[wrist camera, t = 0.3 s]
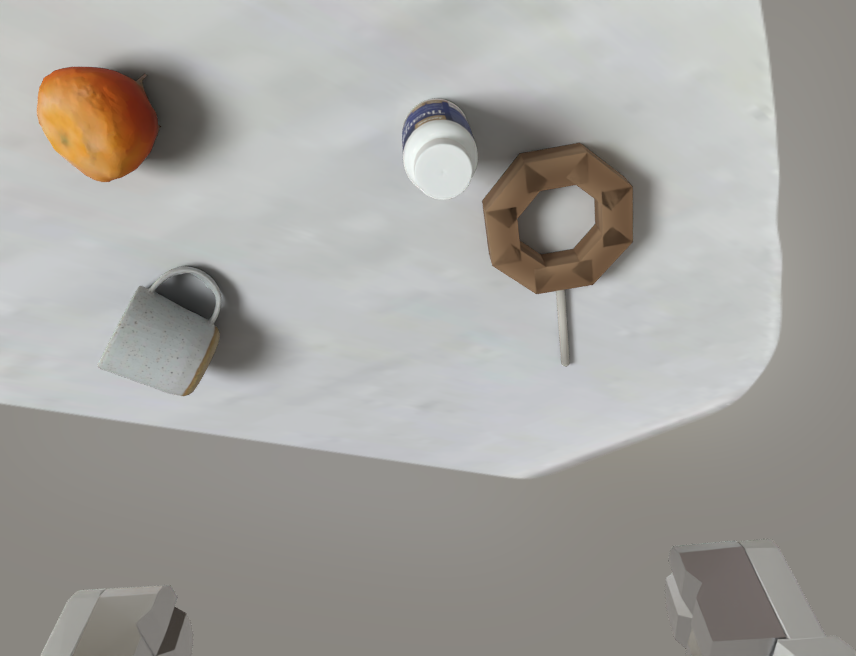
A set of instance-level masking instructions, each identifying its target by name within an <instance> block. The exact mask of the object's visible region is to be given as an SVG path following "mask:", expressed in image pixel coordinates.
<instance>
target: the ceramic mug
mask: <svg viewBox="0 0 856 656" xmlns="http://www.w3.org/2000/svg"><path fill="white" fill-rule="evenodd" d="M183 273H190V274H192V275H194V276H195V277H197V278H199V279H200V280H202V281H203V282H204V283H205V285H206V287H207V288H210V289H211V290H212V292H213V293H214V294H215V298H216V304H215V309H214V312H213V314H212V316H211V318H210V319H208V320H207V319H206V318H204V317H202V316H200V315H198V314H196V313H193V312H191V311H189V310H187V309H185V308H183V307H181V306H179V305H178V304H176V303H174V302H172V301H170V300H169V299H167V298H165V297H164V296H161V295H159V294H157V293H156V292H155V290H156V288H157V287H158V286H159V285H160V284H161V283H163V282H164V281H165V280H167V279H168V278H170V277H172V276H175V275H178V274H183ZM220 307H221V293H220V290H219V287H218V285H217V284H216V282H215V281H214V280H213V278H212V277H211V276H209V275H208V274H207V273H205V272H204V271H202V270H200V269H197V268H194V267H188V266H181V267H177V268H174V269H171V270H169V271H167V272H166V273H164V274H163V275H162V276H161V277H159V278H158V279H157V280H156V281H155V282H154V283H153V285H152V286H151V287H150V288H149V289H148V288H145V287H143V286H139V287H138V289H137V290H136V292H135V294H134V295H133V297H132V299H131V301H130V303H129V305H128V307H127V309H126V310H125V312H124V314H123V316H122V318H121V320H120V322H119V324H118V326H117V328H116V330H115V331H114V333H113V335H112V337H111V339H110V341H109V343H108V345H107V347H106V349H105V351H104V353H103V355H102V357H101V359H100V361H99V362H98V367H99V368H100V369H102V370H105V371H108V372H111V373H114V374H117V375H119V376H122V377H125V378H128V379H130V380H133V381H136V382H139V383H141V384H144V385H147V386H150V387H153V388H155V389H158V390H160V391H163V392H166V393H169V394H174V395H180V396H186V395H189V394H191V393H192V392H193V391H194V390H195V388H196V387H197V385H198V384H199V382H200V381H201V379H202V377H203V375H204V373H205V371H206V369H207V367H208V365H209V363H210V361H211V359H212V357H213V355H214V352H215V350H216V348H217V345H218V342H219V338H220V334H219V330H218V328H217V327H216V326H215V325H214V322H215V321H216V319H217V317H218V314H219V311H220Z"/></svg>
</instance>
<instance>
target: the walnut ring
mask: <svg viewBox="0 0 856 656" xmlns="http://www.w3.org/2000/svg"><path fill="white" fill-rule="evenodd" d="M572 185H577V186H578V187H580V188H581V189H582V190H584V191H585V192H586V193H588V194H589V195H591V196H592V197H593V198H594V200H595V225H594V226H593V227H592V228H591V230H590V231H589V232H588V233H587V234H586V235H585V236H584V237H583V239H582V240H581V241H580V242H579V243H578V244H577V245H576V246H575V247H574V249H570V250H564V251H559V252H553V253H547V254H539V253H538V252H536V251H535V250H533V249H532V248H530V247H529V246H527V245H526V244H524V243H523V242H521V241H520V240H519V231H518V221H517V218H518V217H519V216H520V215H521V214H522V212H523V211H524V210H525V209H526V208H527V206H528V205H529V204H530V203H531V201H532V200H533V199H534V198H535V197H536V195H537V194H538V193H539V192H540V191H543V190H549V189H555V188H560V187H566V186H572ZM482 203H483V211H484V219H485V226H486V234H487V242H488V249H489V255H490V259H491V262H492V266H494V267H495V268H497V269H498V270H500V271H501V272H503V273H504V274H506V275H508V276H509V277H511V278H512V279H514V280H515V281H517V282H518V283H520V284H522V285H523V286H525V287H526V288H528V289H529V290H531V291H532V292H534V293H535V294H541V293H547V292H553V291H559V290H565V289H571V288H577V287H582V286H588V285H593V284H594V283H595V282H596V281H597V280H598V279H599V278H600V277H601V275H602V274H603V273H604V272H605V271H606V270H607V269H608V268H609V267H610V266H611V265H612V264H613V263H614V262H615V260H616V259H617V258H618V257H619V256H620V255H621V254H622V253H623V252H624V251H625V250H626V249H627V248H628V247H629V245H630V244H631V243H632V242H633V187H632V185H631V184H630V183H629V182H628V181H627V180H626V178H625V177H624V176H623V175H621V174H620V173H619V172H617V171H616V170H615V169H614V168H612V167H611V166H610V165H608V164H607V163H606V162H604V161H603V160H602V159H601V158H599V157H598V156H597V155H595V154H594V153H593V152H591V151H590V150H589V149H587V148H586V147H585V146H584V145H582V144H581V143H576V144H570V145H565V146H559V147H553V148H548V149H542V150H537V151H531V152H525V153H519V155H518V156H517V157H516V159H515V160H514V161H513V162H512V164H511V165H510V166H509V167H508V169H507V170H506V171H505V173H504V174H503V175H502V176H501V178H500V179H499V180H498V181H497V183H496V184H495V185H494V187H493V188H492V189H491V190H490V192H489V193H488V194H487V195H486V197H485V198H484V199H483V201H482Z"/></svg>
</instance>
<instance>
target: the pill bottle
mask: <svg viewBox="0 0 856 656" xmlns="http://www.w3.org/2000/svg"><path fill="white" fill-rule="evenodd" d="M402 146H403V163H404V168H405V171H406V173H407V175H408V177H409V179H410V180H411V182H412V183H413V184H414V185H415V186H416V187H417V188H419V189H420V190H421V191H422V192H423V193H425V194H426V195H427V196H429V197H431V198H434V199H438V200H447V199H452V198H454V197H457V196H458V195H460V194H461V193H462V192H464V190H465V189H466V188H467V187H468V185H469V183H470V181H471V178H472V177H473V175H474V173H475V170H476V167H477V163H478V152H477V146H476V144H475V141H474V138H473V135H472V132H471V129H470V126H469V123H468V121H467V119H466V117H465V115H464V113H463V112H462V110H461V109H460V108H459V107H458V106H456V105H455V104H454V103H452V102H450V101H447V100H444V99H428V100H425V101H422V102H421V103H419V104H417V105H416V106H415V107H414V108H412V110H411V111H410V112H409V113H408V115H407V117H406V119H405V121H404V124H403V129H402Z"/></svg>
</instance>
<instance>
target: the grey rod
mask: <svg viewBox="0 0 856 656" xmlns="http://www.w3.org/2000/svg"><path fill="white" fill-rule="evenodd" d="M556 298H557V311H558V325H559V339H560V352H561V364H562V365H563V366H565V367H566V366H568V365H569V363H570V361H569V346H568V331H567V315H566V300H565V290H559V291H556Z"/></svg>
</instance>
